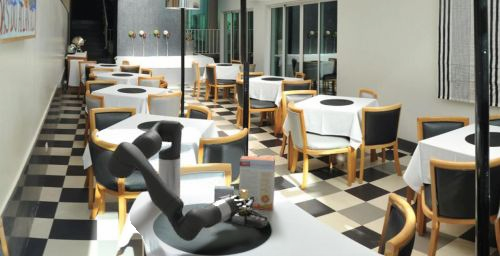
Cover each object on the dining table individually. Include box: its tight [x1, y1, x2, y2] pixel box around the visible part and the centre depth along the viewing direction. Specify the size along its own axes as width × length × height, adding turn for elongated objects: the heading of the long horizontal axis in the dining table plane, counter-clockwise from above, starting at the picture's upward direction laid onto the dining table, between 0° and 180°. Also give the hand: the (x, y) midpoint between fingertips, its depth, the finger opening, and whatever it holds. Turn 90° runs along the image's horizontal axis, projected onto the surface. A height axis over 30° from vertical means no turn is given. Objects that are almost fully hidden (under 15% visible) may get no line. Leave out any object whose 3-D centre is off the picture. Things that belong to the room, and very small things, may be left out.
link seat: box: [232, 210, 254, 226], centre depth 171 cm, size 5×7×3 cm
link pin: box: [238, 189, 248, 220], centre depth 171 cm, size 4×4×12 cm
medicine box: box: [213, 185, 235, 202], centre depth 184 cm, size 8×4×9 cm, turn 92°
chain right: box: [245, 213, 269, 230], centre depth 168 cm, size 7×5×3 cm
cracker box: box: [238, 155, 276, 211], centre depth 185 cm, size 14×6×21 cm, turn 82°
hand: (247, 197), depth 172 cm, fingers open, 4 cm apart
